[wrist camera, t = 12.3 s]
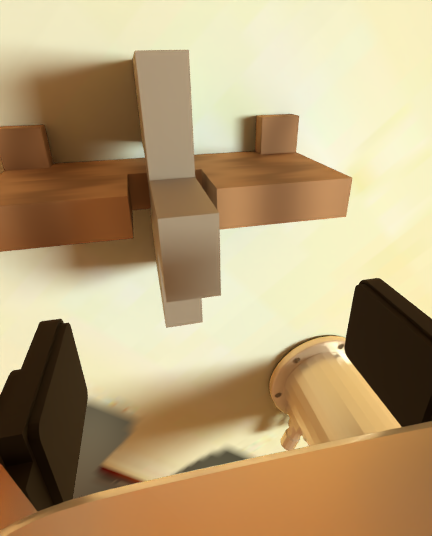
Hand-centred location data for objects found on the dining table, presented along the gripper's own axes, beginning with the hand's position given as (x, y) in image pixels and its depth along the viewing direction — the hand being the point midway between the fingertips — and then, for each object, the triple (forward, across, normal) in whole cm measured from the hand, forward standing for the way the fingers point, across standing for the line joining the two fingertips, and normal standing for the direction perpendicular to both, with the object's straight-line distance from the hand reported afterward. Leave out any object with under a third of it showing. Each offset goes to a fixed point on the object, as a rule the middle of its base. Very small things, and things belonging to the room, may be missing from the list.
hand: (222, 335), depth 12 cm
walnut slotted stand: (+21, +1, -1) cm, 21 cm away
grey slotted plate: (+21, +1, -1) cm, 21 cm away
